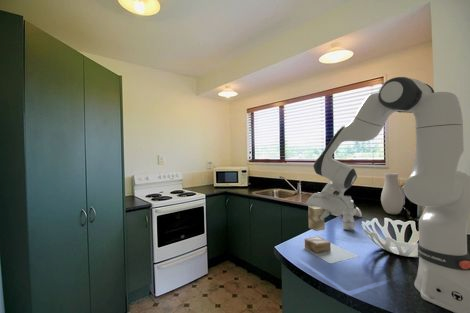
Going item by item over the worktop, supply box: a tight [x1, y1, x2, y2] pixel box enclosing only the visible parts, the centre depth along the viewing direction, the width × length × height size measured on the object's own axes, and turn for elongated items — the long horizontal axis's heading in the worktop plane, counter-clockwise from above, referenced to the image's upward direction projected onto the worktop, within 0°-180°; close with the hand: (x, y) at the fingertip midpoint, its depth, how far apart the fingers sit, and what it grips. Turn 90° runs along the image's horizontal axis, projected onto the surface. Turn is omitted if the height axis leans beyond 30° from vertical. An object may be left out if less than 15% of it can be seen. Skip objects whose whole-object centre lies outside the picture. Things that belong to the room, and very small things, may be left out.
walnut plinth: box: [304, 236, 331, 254], centre depth 101 cm, size 8×8×4 cm
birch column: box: [307, 206, 326, 232], centre depth 101 cm, size 5×5×10 cm
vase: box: [380, 172, 404, 215], centre depth 162 cm, size 14×14×30 cm
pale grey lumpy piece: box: [341, 199, 363, 218], centre depth 157 cm, size 12×11×12 cm
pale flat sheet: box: [302, 242, 360, 264], centre depth 98 cm, size 18×16×1 cm
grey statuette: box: [341, 195, 356, 231], centre depth 129 cm, size 6×7×20 cm
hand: (315, 217), depth 101 cm, fingers closed on birch column, 5 cm apart
